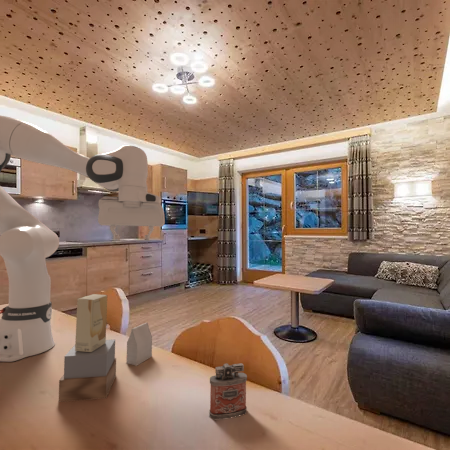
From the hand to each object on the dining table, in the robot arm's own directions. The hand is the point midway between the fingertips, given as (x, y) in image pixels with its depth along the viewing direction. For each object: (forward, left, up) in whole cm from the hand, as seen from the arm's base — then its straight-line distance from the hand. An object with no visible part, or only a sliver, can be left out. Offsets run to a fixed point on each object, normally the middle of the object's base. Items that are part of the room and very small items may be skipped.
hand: (132, 240), depth 90 cm
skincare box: (-6, -20, -26) cm, 33 cm away
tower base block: (-6, -20, -36) cm, 41 cm away
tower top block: (-6, -20, -30) cm, 37 cm away
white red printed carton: (+4, -6, -35) cm, 36 cm away
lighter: (+26, -34, -35) cm, 55 cm away
